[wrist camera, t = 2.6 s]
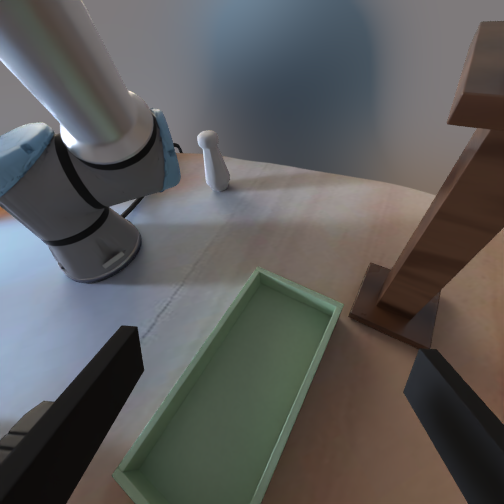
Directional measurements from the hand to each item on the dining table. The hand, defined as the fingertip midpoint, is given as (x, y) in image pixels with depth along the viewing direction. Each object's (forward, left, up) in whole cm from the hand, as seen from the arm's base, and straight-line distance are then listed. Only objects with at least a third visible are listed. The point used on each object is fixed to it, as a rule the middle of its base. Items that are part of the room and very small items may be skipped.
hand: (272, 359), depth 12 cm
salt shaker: (-47, -5, -23) cm, 53 cm away
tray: (-3, -3, -23) cm, 24 cm away
